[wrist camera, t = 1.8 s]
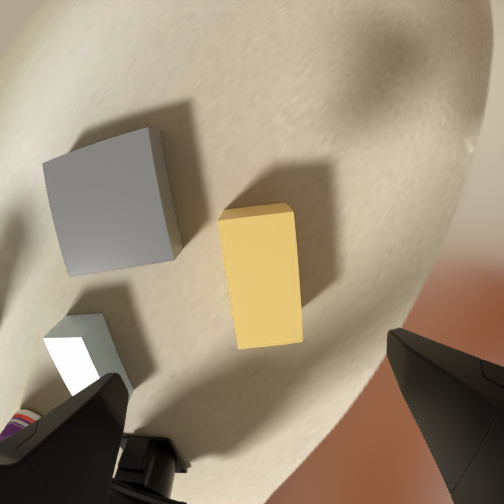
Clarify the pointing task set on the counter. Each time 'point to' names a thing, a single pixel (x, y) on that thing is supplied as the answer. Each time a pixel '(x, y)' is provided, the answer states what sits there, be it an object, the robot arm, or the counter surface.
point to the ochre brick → (262, 274)
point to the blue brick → (84, 351)
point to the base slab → (113, 204)
